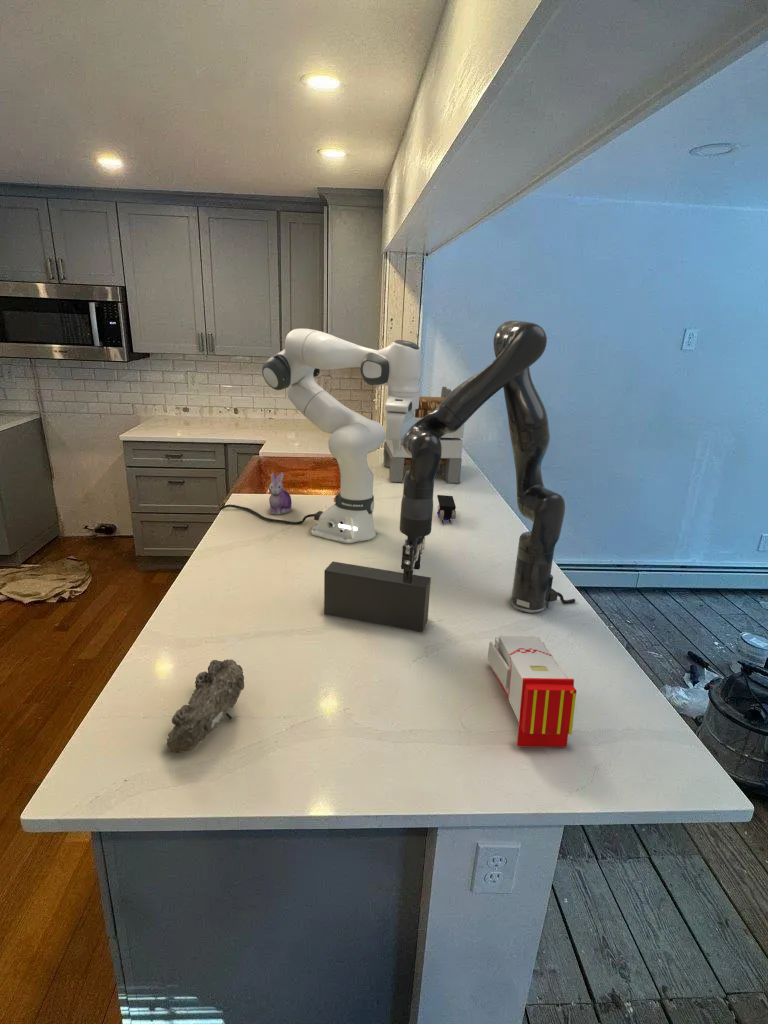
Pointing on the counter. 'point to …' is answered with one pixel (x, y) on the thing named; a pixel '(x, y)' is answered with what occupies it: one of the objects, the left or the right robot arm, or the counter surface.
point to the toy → (534, 690)
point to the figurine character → (446, 508)
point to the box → (376, 596)
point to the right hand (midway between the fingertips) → (411, 575)
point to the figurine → (278, 496)
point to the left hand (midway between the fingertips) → (400, 449)
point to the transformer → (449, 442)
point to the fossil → (206, 705)
